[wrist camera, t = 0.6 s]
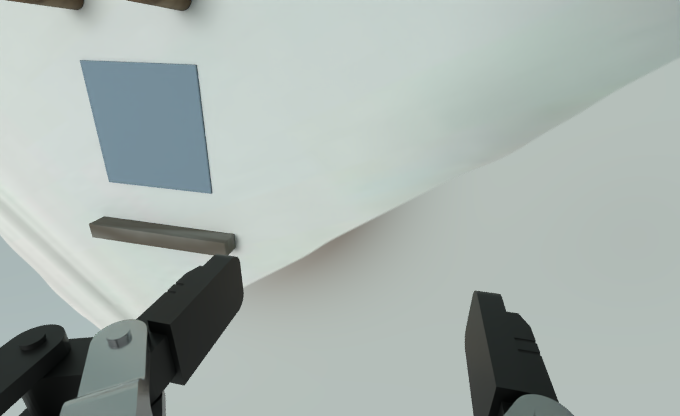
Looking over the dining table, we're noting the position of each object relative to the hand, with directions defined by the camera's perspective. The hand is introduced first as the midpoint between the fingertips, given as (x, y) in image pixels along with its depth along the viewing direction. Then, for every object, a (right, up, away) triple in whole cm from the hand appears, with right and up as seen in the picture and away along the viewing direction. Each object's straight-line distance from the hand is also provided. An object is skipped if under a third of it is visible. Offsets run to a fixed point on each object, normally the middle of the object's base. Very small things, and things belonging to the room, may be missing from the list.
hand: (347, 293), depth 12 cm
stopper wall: (-24, 0, +37) cm, 44 cm away
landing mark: (-24, +13, +31) cm, 41 cm away
